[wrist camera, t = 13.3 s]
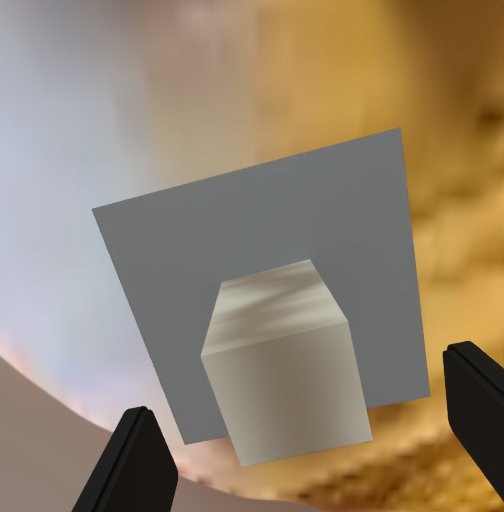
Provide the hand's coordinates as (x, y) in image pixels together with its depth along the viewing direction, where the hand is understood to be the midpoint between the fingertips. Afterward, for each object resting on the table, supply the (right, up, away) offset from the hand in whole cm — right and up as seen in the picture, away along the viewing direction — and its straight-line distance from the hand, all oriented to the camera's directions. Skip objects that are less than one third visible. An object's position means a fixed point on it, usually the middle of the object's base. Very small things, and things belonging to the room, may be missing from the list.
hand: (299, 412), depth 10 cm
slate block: (0, +3, +13) cm, 13 cm away
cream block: (0, +2, +8) cm, 8 cm away
